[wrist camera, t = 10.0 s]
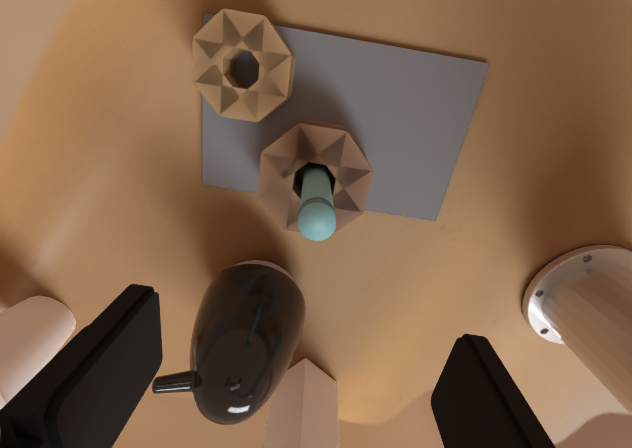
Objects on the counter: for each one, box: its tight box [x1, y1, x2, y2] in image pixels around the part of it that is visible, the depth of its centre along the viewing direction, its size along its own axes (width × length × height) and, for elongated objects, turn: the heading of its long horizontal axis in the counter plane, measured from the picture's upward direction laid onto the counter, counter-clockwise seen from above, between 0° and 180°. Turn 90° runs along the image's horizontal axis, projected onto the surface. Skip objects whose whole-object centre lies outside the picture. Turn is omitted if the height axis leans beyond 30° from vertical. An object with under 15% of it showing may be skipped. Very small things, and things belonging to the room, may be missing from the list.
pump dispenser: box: [152, 260, 305, 425], centre depth 28 cm, size 10×10×15 cm
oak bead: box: [192, 8, 296, 122], centre depth 24 cm, size 7×7×4 cm
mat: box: [202, 12, 490, 221], centre depth 28 cm, size 23×14×1 cm, turn 81°
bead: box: [257, 118, 373, 232], centre depth 27 cm, size 9×9×4 cm
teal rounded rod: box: [298, 162, 336, 241], centre depth 24 cm, size 2×2×12 cm
